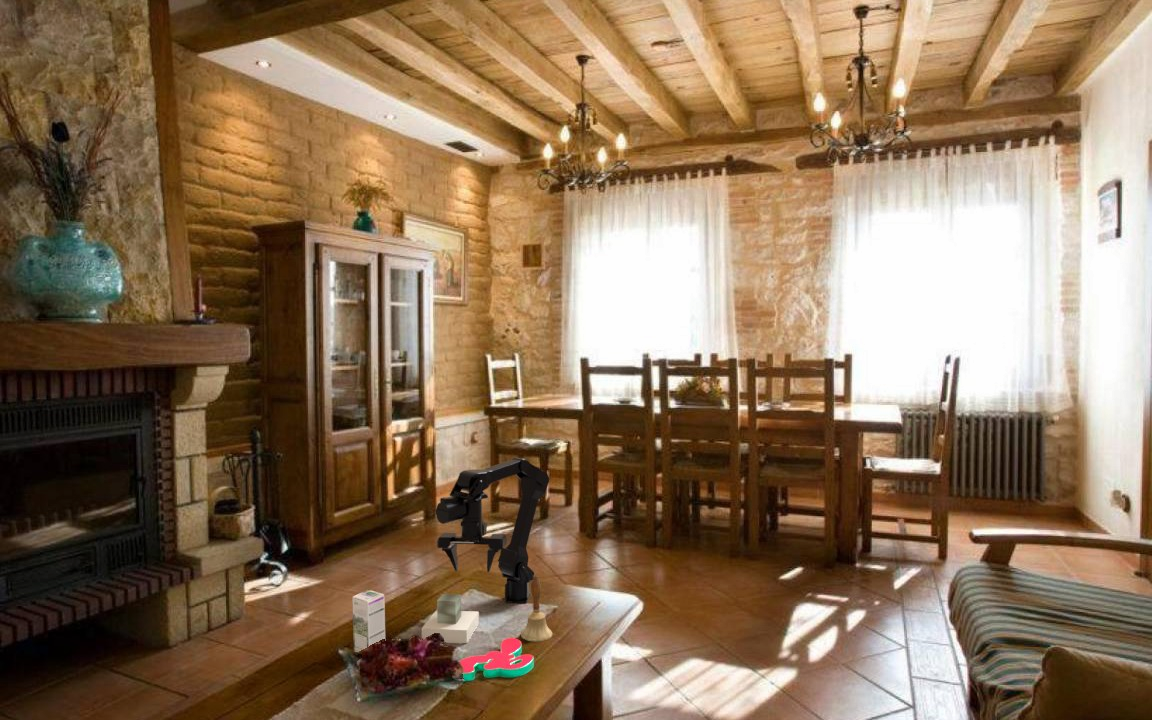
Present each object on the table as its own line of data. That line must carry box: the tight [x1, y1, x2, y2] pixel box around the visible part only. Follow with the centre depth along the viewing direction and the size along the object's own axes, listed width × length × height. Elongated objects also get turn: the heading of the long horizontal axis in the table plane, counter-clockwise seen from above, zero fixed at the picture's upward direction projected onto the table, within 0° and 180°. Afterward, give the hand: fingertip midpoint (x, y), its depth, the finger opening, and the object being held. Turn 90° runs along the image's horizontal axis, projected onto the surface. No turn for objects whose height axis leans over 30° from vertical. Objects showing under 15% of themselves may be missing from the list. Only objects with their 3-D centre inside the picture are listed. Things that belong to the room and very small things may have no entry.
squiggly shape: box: [458, 637, 535, 682], centre depth 166 cm, size 20×16×2 cm
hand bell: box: [520, 574, 553, 643], centre depth 182 cm, size 8×8×16 cm
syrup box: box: [352, 589, 386, 653], centre depth 173 cm, size 6×6×14 cm
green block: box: [436, 593, 462, 624], centre depth 184 cm, size 5×5×6 cm
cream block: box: [421, 609, 480, 644], centre depth 184 cm, size 12×12×4 cm
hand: (472, 571), depth 195 cm, fingers open, 9 cm apart
